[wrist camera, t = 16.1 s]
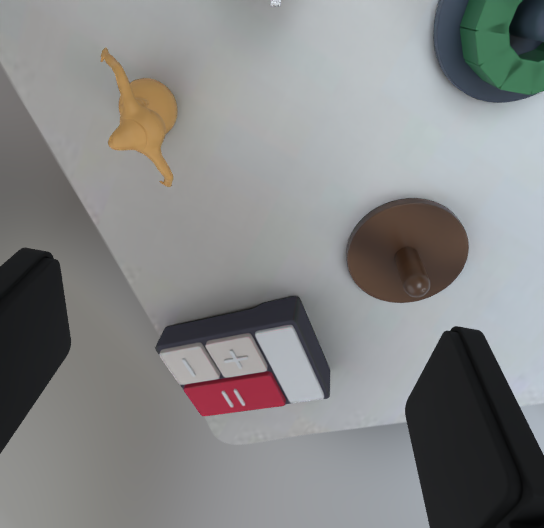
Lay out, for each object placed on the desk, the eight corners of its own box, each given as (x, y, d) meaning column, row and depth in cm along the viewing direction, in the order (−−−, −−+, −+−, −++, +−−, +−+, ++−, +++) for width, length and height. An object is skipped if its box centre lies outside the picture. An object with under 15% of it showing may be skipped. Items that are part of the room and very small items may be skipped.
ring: (492, -67, 24) (514, -75, 21) (619, -43, 24) (655, -47, 21) (442, 73, 28) (455, 81, 25) (550, 93, 28) (574, 103, 25)
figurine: (106, 52, 30) (1, 83, 20) (182, 22, 28) (110, 39, 18) (158, 161, 34) (93, 233, 24) (227, 140, 32) (188, 206, 22)
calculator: (150, 352, 41) (294, 325, 36) (165, 323, 44) (298, 294, 40) (199, 421, 46) (330, 405, 41) (209, 390, 49) (331, 371, 45)
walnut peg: (364, 187, 33) (373, 221, 28) (485, 210, 34) (515, 248, 29) (334, 285, 39) (337, 329, 34) (438, 304, 39) (456, 350, 34)
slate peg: (472, -102, 24) (515, -127, 19) (643, -67, 24) (731, -83, 19) (411, 85, 29) (431, 104, 24) (550, 111, 29) (599, 136, 24)
